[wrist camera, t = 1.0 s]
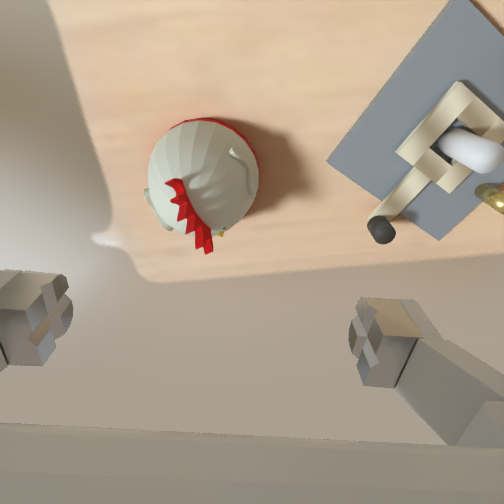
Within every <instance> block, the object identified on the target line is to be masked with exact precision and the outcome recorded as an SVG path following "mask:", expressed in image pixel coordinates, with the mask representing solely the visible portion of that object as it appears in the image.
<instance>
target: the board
mask: <svg viewBox="0 0 504 504" xmlns="http://www.w3.org/2000/svg"><path fill="white" fill-rule="evenodd" d="M456 81H458V82H461V83H463V84H464V85H465V86H466V87H467V88H468V89H469V90H470V91H471V92H472V93H473V94H475V95H476V96H477V97H478V98H479V99H480V100H481V101H482V102H483V103H484V104H485V105H487V106H488V107H489V108H490V109H491V110H492V111H493V112H494V113H495V114H496V115H497V116H498V117H500V118H501V119H502V120H503V121H504V36H503V35H502V34H501V33H500V32H499V31H498V30H497V29H496V28H495V27H494V26H493V25H492V24H491V23H490V21H489V20H488V19H487V18H486V17H485V16H484V15H483V14H482V13H481V12H480V11H479V10H478V9H477V8H476V7H475V6H474V5H473V4H472V3H471V2H470V1H469V0H450V1H449V2H448V3H447V5H446V6H445V7H444V8H443V10H442V11H441V12H440V14H439V15H438V16H437V18H436V19H435V20H434V21H433V23H432V24H431V25H430V27H429V28H428V29H427V31H426V32H425V33H424V34H423V36H422V37H421V38H420V40H419V41H418V42H417V43H416V45H415V46H414V47H413V49H412V50H411V51H410V53H409V54H408V55H407V56H406V58H405V59H404V60H403V62H402V63H401V64H400V66H399V67H398V68H397V69H396V71H395V72H394V73H393V75H392V76H391V77H390V79H389V80H388V81H387V82H386V84H385V85H384V86H383V88H382V89H381V90H380V92H379V93H378V94H377V95H376V97H375V98H374V99H373V101H372V102H371V103H370V104H369V106H368V107H367V108H366V110H365V111H364V112H363V114H362V115H361V116H360V117H359V119H358V120H357V121H356V123H355V124H354V125H353V127H352V128H351V129H350V130H349V132H348V133H347V134H346V136H345V137H344V138H343V140H342V141H341V142H340V143H339V145H338V146H337V147H336V149H335V150H334V151H333V153H332V154H331V155H330V156H329V158H328V159H327V160H326V161H327V162H328V164H329V165H331V166H332V167H334V168H335V169H337V170H338V171H339V172H341V173H342V174H344V175H345V176H347V177H348V178H349V179H351V180H352V181H354V182H355V183H357V184H358V185H360V186H361V187H362V188H364V189H365V190H367V191H368V192H370V193H371V194H372V195H374V196H375V197H377V198H378V199H380V200H381V201H383V200H384V199H385V198H386V197H387V196H388V195H389V193H390V192H391V191H392V190H393V189H394V188H395V187H396V186H397V185H398V184H399V183H400V181H401V180H402V179H403V178H404V177H405V176H406V175H407V174H408V173H409V172H410V171H411V170H412V168H413V167H414V166H412V165H411V164H410V163H409V162H407V161H406V160H405V159H403V158H402V157H401V156H399V155H398V154H397V153H395V151H396V150H397V149H398V147H399V146H400V145H401V144H402V143H403V142H404V141H405V139H406V138H407V137H408V136H409V135H410V134H411V133H412V131H413V130H414V129H415V128H416V127H417V126H418V124H419V123H420V122H421V121H422V120H423V119H424V118H425V116H426V115H427V114H428V113H429V112H430V111H431V109H432V108H433V107H434V106H435V105H436V104H437V103H438V101H439V100H440V99H441V98H442V97H443V96H444V94H445V93H446V92H447V91H448V90H449V89H450V88H451V86H452V85H453V84H454V83H455V82H456ZM429 148H430V149H431V150H432V151H434V152H435V153H436V154H437V155H439V156H440V157H441V158H442V159H444V160H445V161H446V162H447V163H450V162H451V160H452V159H454V160H456V161H458V162H460V163H461V164H463V165H465V166H467V167H469V168H470V169H472V170H473V171H472V172H471V173H470V174H469V175H468V176H467V177H466V178H465V179H464V180H463V181H462V182H461V183H460V184H459V185H458V186H457V187H456V188H455V189H454V190H453V191H452V192H451V193H450V194H449V193H448V192H446V191H445V190H444V189H442V188H441V187H440V186H439V185H437V184H436V183H435V182H433V181H432V180H431V181H430V182H429V183H428V184H427V185H426V186H425V187H424V188H423V189H422V190H421V191H420V192H419V193H418V194H417V195H416V196H415V197H414V198H413V199H412V200H411V201H410V202H409V203H408V204H407V205H406V206H405V207H404V209H403V210H402V211H401V212H400V214H401V215H402V216H404V217H405V218H407V219H408V220H410V221H411V222H413V223H414V224H415V225H417V226H418V227H420V228H421V229H423V230H424V231H425V232H427V233H428V234H430V235H431V236H433V237H434V238H435V239H437V240H438V241H439V240H441V239H442V238H443V237H444V236H445V235H446V234H447V233H448V232H449V231H450V230H451V229H453V228H454V227H455V226H456V225H457V224H458V223H459V222H460V221H461V220H462V219H463V218H465V217H466V216H467V215H468V214H469V213H470V212H471V211H472V210H473V209H474V208H475V207H477V206H478V205H479V204H480V203H481V202H482V200H480V199H479V198H477V197H476V196H475V193H474V192H475V189H476V188H477V187H478V186H479V185H480V184H483V183H488V184H490V185H492V186H493V187H495V188H497V187H498V186H499V185H501V184H502V183H503V182H504V141H503V142H502V143H501V144H498V143H495V142H493V141H490V140H488V139H485V138H483V137H480V136H478V135H475V134H474V133H472V132H471V131H470V130H469V129H468V128H467V127H465V126H464V125H463V124H462V123H461V122H460V121H459V120H457V119H455V120H454V121H453V122H452V123H451V124H450V126H449V127H448V128H447V129H446V130H445V131H444V132H443V133H442V134H441V135H440V136H439V138H438V139H437V140H436V141H435V142H434V143H433V144H432V145H431V146H430V147H429Z"/></svg>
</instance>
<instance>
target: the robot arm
mask: <svg viewBox="0 0 504 504" xmlns="http://www.w3.org/2000/svg"><path fill="white" fill-rule="evenodd" d="M68 288H69V286H68V282H67V279H66V277H65V276H64V275H62V274H54V273H43V272H33V271H22V270H9V269H5V270H0V371H2V370H4V369H5V368H6V367H7V365H21V366H23V365H24V366H43V365H44V364H45V362H46V361H47V359H48V358H49V356H50V355H51V354H52V352H53V350H54V349H55V348H56V343H55V339H57V338H59V337H60V336H62V335H64V334H65V333H66V331H67V330H68V328H69V327H70V324H71V321H72V317H73V305H72V301H71V299H70V298H69V297H68V296H66V295H65V294H64V293H65V292H66V291H67V289H68ZM356 311H357V313H358V316H357V317H355V318H354V319H353V320H352V321H351V324H350V328H349V345H350V348H351V352H352V354H354V355H355V356H356V357H357V358H358V359H359V360H358V363H357V369H358V371H359V374H360V377H361V380H362V382H363V385H364V386H373V387H384V388H395V391H396V392H397V393H398V394H399V395H400V396H401V397H402V398H403V399H404V400H405V401H406V402H407V403H408V404H409V405H410V406H411V408H412V409H414V411H415V412H416V413H418V414H419V416H420V417H421V418H422V419H423V420H424V421H425V422H426V423H427V424H428V425H429V426H430V427H431V428H432V429H433V430H434V431H435V432H436V433H437V434H438V435H439V436H440V437H441V438H442V440H444V441H445V443H446V444H447V445H448V446H446V445H427V444H408V443H388V442H368V441H349V440H330V439H311V438H290V437H270V436H252V435H233V434H214V433H213V434H212V433H194V432H175V431H155V430H136V429H116V428H97V427H76V426H58V425H39V424H19V423H0V504H504V375H503V374H502V373H500V372H498V371H497V370H495V369H494V368H492V367H491V366H489V365H488V364H486V363H484V362H483V361H481V360H480V359H478V358H476V357H475V356H473V355H472V354H470V353H469V352H467V351H465V350H464V349H462V348H460V347H459V346H458V345H456V344H454V343H453V342H451V341H449V340H444V339H443V338H442V337H441V335H440V334H439V332H438V331H437V329H436V328H435V327H434V325H433V324H432V322H431V321H430V320H429V318H428V317H427V315H426V314H425V312H424V311H423V310H422V308H421V307H420V305H419V304H418V302H416V301H414V300H408V299H381V298H365V297H361V298H360V299H359V301H358V302H357V305H356Z"/></svg>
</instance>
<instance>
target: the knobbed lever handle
mask: <svg viewBox="0 0 504 504" xmlns="http://www.w3.org/2000/svg"><path fill="white" fill-rule="evenodd" d="M455 119H457V120H459V121H460V122H461V123H462V124H463V125H464V126H465V127H467V128H468V129H469V130H470V131H471V132H472V133H474V134H475V135H478V136H480V137H483V138H485V139H488V140H490V141H493V142H495V143H498V144H501V143H502V142H503V141H504V121H503V120H502V119H501V118H500V117H498V116H497V115H496V114H495V113H494V112H493V111H492V110H491V109H490V108H489V107H488V106H487V105H485V104H484V103H483V102H482V101H481V100H480V99H479V98H478V97H477V96H476V95H475V94H473V93H472V92H471V91H470V90H469V89H468V88H467V87H466V86H465V85H464V84H463V83H461V82H458V81H456V82H455V83H454V84H453V85H452V86H451V88H450V89H449V90H448V91H447V92H446V93H445V94H444V96H443V97H442V98H441V99H440V100H439V101H438V103H437V104H436V105H435V106H434V107H433V108H432V109H431V111H430V112H429V113H428V114H427V115H426V116H425V118H424V119H423V120H422V121H421V122H420V123H419V124H418V126H417V127H416V128H415V129H414V130H413V131H412V133H411V134H410V135H409V136H408V137H407V138H406V139H405V141H404V142H403V143H402V144H401V145H400V146H399V147H398V149H397V150H396V151H395V153H397V154H398V155H399V156H401V157H402V158H403V159H405V160H406V161H407V162H409V163H410V164H411V165H412V166H414V167H413V168H412V170H411V171H410V172H409V173H408V174H407V175H406V176H405V177H404V178H403V179H402V180H401V181H400V183H399V184H398V185H397V186H396V187H395V188H394V189H393V190H392V191H391V192H390V193H389V195H388V196H387V197H386V198H385V199H384V200H383V201H382V202H381V203H380V204H379V205H378V206H377V208H376V209H375V210H374V211H373V212H372V213H371V214H370V215H369V216H368V217H367V218H366V220H367V222H368V224H367V227H368V230H369V231H370V233H371V234H372V236H373V238H374V239H375V241H376V242H377V243H379V244H387V243H389V242H391V241H392V240H393V239H394V238H395V235H396V231H395V229H394V228H393V227H392V225H391V224H390V222H391V221H392V220H393V219H394V218H395V217H396V216H397V215H398V214H399V213H400V212H401V211H402V210H403V209H404V207H405V206H406V205H407V204H408V203H409V202H410V201H411V200H412V199H413V198H414V197H415V196H416V195H417V194H418V193H419V192H420V191H421V190H422V189H423V188H424V187H425V186H426V185H427V184H428V183H429V182H430V181H431V180H432V181H433V182H435V183H436V184H437V185H439V186H440V187H441V188H442V189H444V190H445V191H446V192H448V193H449V194H450V193H451V192H452V191H453V190H454V189H455V188H456V187H457V186H458V185H459V184H460V183H461V182H462V181H463V180H464V179H465V178H466V177H467V176H468V175H469V174H470V173H471V172H472V171H473V170H472V169H470V168H469V167H467V166H465V165H463V164H461V163H460V162H458V161H456V160H454V159H452V160H451V162H450V163H447V162H446V161H445V160H444V159H442V158H441V157H440V156H439V155H437V154H436V153H435V152H434V151H432V150H431V149H430V148H429V147H430V146H431V145H432V144H433V143H434V142H435V141H436V140H437V139H438V138H439V136H440V135H441V134H442V133H443V132H444V131H445V130H446V129H447V128H448V127H449V126H450V124H451V123H452V122H453V121H454V120H455Z"/></svg>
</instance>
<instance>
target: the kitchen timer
mask: <svg viewBox="0 0 504 504" xmlns="http://www.w3.org/2000/svg"><path fill="white" fill-rule="evenodd" d="M147 178H148V187H149V188H147V189H144V190H143V193H144V197H145V199H146V200H147V202H148V203H149V205H150V206H151V208H152V209H153V211H154V213H155V215H156V217H157V219H158V221H159V223H160V225H161V226H162V227H163V228H164V229H166V230H168V231H172V230H173V228H174V229H175V230H176V231H178V232H181V233H183V234H186V235H189V236H195V248H196V249H198V248H201V247H203V248H204V252H205V255H206V254H208V253H211V252H213V241H212V236H215V235H218V236H221V237H222V236H223V233H224V231H227V230H228V229H230V228H231V227H232V226H233V225H235V224H236V223H237V222H238V221H240V220H241V219H242V218H243V217H244V216H245V214H246V213H247V211H248V210H249V208H250V207H251V205H252V204H253V202H254V199H255V196H256V193H257V190H258V186H259V166H258V163H257V159H256V156H255V152H254V150H253V149H252V147H251V146H250V144H249V143H248V141H247V140H246V138H245V137H244V136H243V135H241V134H240V133H239V132H238V131H237V130H236V129H235V128H233V127H232V126H229V125H227V124H225V123H223V122H221V121H219V120H213V119H207V118H197V119H191V120H185V121H183V122H181V123H179V124H177V125H175V126H174V127H172V128H171V129H169V130H168V131H167V132H166V134H165V135H164V136H163V137H162V138H161V139H160V140H159V141H158V142H157V144H156V146H155V148H154V150H153V152H152V154H151V157H150V159H149V167H148V175H147Z"/></svg>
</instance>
